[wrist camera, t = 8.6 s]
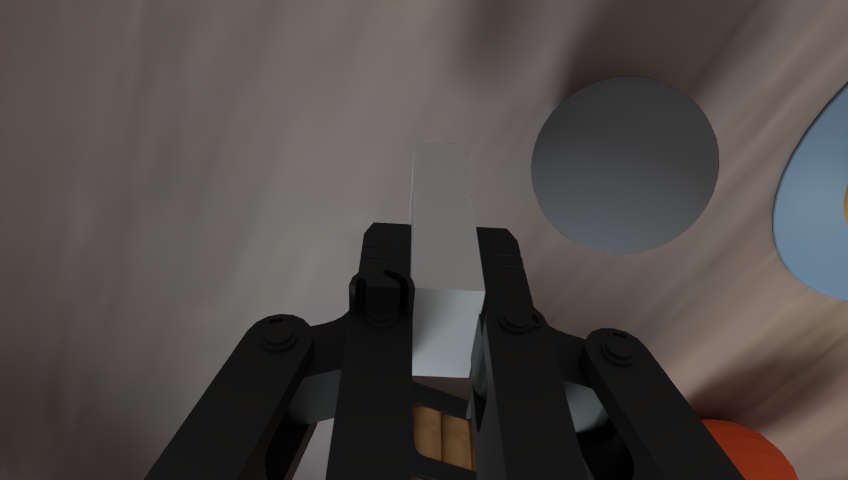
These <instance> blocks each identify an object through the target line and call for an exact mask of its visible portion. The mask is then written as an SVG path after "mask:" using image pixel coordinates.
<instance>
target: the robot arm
mask: <svg viewBox="0 0 848 480" xmlns="http://www.w3.org/2000/svg"><path fill="white" fill-rule="evenodd" d="M470 368H471V369H472V380H473V383H472V388H471V393H470V398H469V403H468V407H467V413H466V419H471V417H472V429H473V440H474V452H475V463H476V475H477V480H745V478H744V477H743V476H742V474H741V473H740V472H739V470H738V469H737V468H736V466H735V465H734V464H733V462H732V461H731V460H730V458H729V457H728V456H727V454H726V453H725V452H724V450H723V449H722V448H721V446H720V445H719V444H718V442H717V441H716V440H715V438H714V437H713V436H712V434H711V433H710V432H709V430H708V429H707V428H706V426H705V425H704V424H703V422H702V421H701V420H700V418H699V417H698V416H697V414H696V413H695V412H694V410H693V409H692V408H691V406H690V405H689V404H688V402H687V401H686V400H685V398H684V397H683V396H682V394H681V393H680V392H679V390H678V389H677V388H676V386H675V385H674V384H673V382H672V381H671V380H670V378H669V377H668V376H667V374H666V373H665V372H664V370H663V369H662V368H661V366H660V365H659V364H658V362H657V361H656V360H655V358H654V357H653V356H652V354H651V353H650V352H649V350H648V349H647V348H646V347H645V346H644V345H643V344H642V343H641V342H640V341H639V340H638V339H637V338H635V337H634V336H632V335H630V334H628V333H627V332H624V331H621V330H617V329H614V328H601V329H598V330H595V331H592V332H591V333H590V335H589V336H588V337H587V338H586V339H582V338H579V337H576V336H572V335H569V334H565V333H563V332H560V331H558V330H555V329H554V328H552V327H550V326H549V325H547V322H546V320H545V318H544V317H543V315H542V314H541V313H540V312H539V311H538V310H536V309H535V308H534V306H533V302H532V298H531V294H530V290H529V286H528V282H527V278H526V274H525V270H524V268H523V262H522V258H521V254H520V249H519V245H518V241H517V240H516V239H515V238H514V236H513V235H512V234H511V233H510V232H509V231H508V230H507V229H503V228H485V227H476V224H475V218H474V211H473V204H472V197H471V190H470V183H469V177H468V170H467V163H466V156H465V149H464V144H454V143H438V142H423V141H414V152H413V166H412V181H411V195H410V210H409V224H392V223H373V224H372V225H371V226H370V227H369V229H368V230H367V231H366V232H365V233H364V238H363V245H362V252H361V260H360V266H359V272H358V273H357V274H356V275H355V276H353V278H352V280H351V282H350V284H349V311H348V312H347V313H346V314H344V315H343V316H342V317H340V318H338V319H336V320H334V321H331V322H328V323H325V324H320V325H315V326H310V325H309V324H308V323H307V322H306V321H305V320H304V319H301V318H299V317H297V316H294V315H286V314H278V315H273V316H268V317H266V318H264V319H262V320H260V321H258V322H256V323H255V324H254V325H253V326H252V327H251V328H250V329H249V330H248V331H247V332H246V334H245V335H244V337H243V338H242V339H241V341H240V342H239V344H238V345H237V347H236V348H235V350H234V351H233V352H232V354H231V355H230V357H229V358H228V360H227V361H226V362H225V364H224V365H223V367H222V368H221V370H220V371H219V372H218V374H217V375H216V377H215V378H214V380H213V381H212V382H211V384H210V385H209V387H208V388H207V390H206V391H205V392H204V394H203V395H202V397H201V398H200V400H199V401H198V403H197V404H196V405H195V407H194V408H193V410H192V411H191V413H190V414H189V415H188V417H187V418H186V420H185V421H184V423H183V424H182V425H181V427H180V428H179V430H178V431H177V433H176V434H175V435H174V437H173V438H172V440H171V441H170V443H169V444H168V446H167V447H166V448H165V450H164V451H163V453H162V454H161V456H160V457H159V458H158V460H157V461H156V463H155V464H154V466H153V467H152V468H151V470H150V471H149V473H148V474H147V476H146V477H145V478H144V480H292V478H293V476H294V474H295V472H296V470H297V467H298V465H299V463H300V461H301V459H302V457H303V454H304V452H305V450H306V448H307V446H308V443H309V441H310V439H311V437H312V435H313V433H314V430H315V428H316V426H317V422H319V421H323V420H327V419H331V418H334V417H335V418H334V425H333V431H332V438H331V445H330V452H329V459H328V466H327V473H326V479H325V480H411V436H412V376H435V377H458V378H469V373H470Z"/></svg>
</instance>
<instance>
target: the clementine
mask: <svg viewBox="0 0 848 480" xmlns="http://www.w3.org/2000/svg"><path fill="white" fill-rule="evenodd" d="M701 421H702V422H703V424H704V425H705V426H706V428H707V429H708V430H709V432H710V433H711V434H712V436H713V437H714V438H715V440H716V441H717V442H718V444H719V445H720V446H721V448H722V449H723V450H724V452H725V453H726V454H727V456H728V457H729V458H730V460H731V461H732V462H733V464H734V465H735V466H736V468H737V469H738V470H739V472H740V473H741V474H742V476H743V477H744V478H745V480H798V478H797V475H796V473H795V470H794V468H793V467H792V465H791V464H790V463H789V461H788V460H787V459H786V457H785V456H784V455H783V453H782V452H781V451H780V450H779V449H778V448H777V447H775V446H774V445H773V444H772V443H771V442H769V441H768V440H767V439H766V438H765V437H763V436H762V435H761V434H760V433H758V432H755V431H753V430H751V429H749V428H747V427H744V426H742V425H740V424H737V423H735V422H729V421H723V420H715V419H705V420H701Z"/></svg>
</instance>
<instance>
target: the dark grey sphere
mask: <svg viewBox="0 0 848 480" xmlns="http://www.w3.org/2000/svg"><path fill="white" fill-rule="evenodd" d="M718 171H719V149H718V144H717V140H716V136H715V134H714V131H713V129H712V126H711V124H710V122H709V121H708V119H707V117H706V115H705V114H704V113H703V111H702V110H701V109H700V107H699V106H698V105H697V104H696V103H695V102H694V101H693V100H692V99H691V98H690V97H688V96H687V95H685V94H684V93H683V92H681V91H680V90H678V89H676V88H674V87H672V86H670V85H668V84H666V83H663V82H660V81H658V80H654V79H649V78H644V77H634V76H629V77H616V78H609V79H605V80H602V81H598V82H596V83H593V84H591V85H589V86H586V87H584V88H582V89H580V90H579V91H577V92H575V93H573V94H572V95H571V96H570V97H568V98H567V99H566V100H564V101H563V102H562V103H561V104H560V105H559V106H558V107H557V108H556V109H555V110H554V111H553V112H552V114H551V115H550V116H549V118H548V119H547V121H546V122H545V124H544V125H543V127H542V129H541V131H540V133H539V135H538V138H537V140H536V143H535V147H534V151H533V155H532V165H531V174H532V184H533V188H534V192H535V195H536V198H537V201H538V203H539V205H540V207H541V209H542V211H543V213H544V214H545V216H546V217H547V219H548V220H549V221H550V222H551V223H552V225H553V226H554V227H555V228H556V229H557V230H559V231H560V232H561V233H562V234H563V235H564V236H566V237H567V238H568V239H570V240H572V241H573V242H575V243H577V244H579V245H581V246H583V247H586V248H589V249H591V250H595V251H599V252H604V253H612V254H630V253H638V252H643V251H647V250H650V249H653V248H656V247H659V246H661V245H663V244H665V243H668V242H670V241H671V240H673V239H674V238H676V237H678V236H679V235H680V234H682V233H683V232H684V231H685V230H686V229H688V228H689V227H690V226H691V225H692V224H693V223H694V222H695V221H696V220H697V219H698V217H699V216H700V215H701V213H702V212H703V210H704V209H705V207H706V206H707V204H708V203H709V201H710V198H711V196H712V194H713V191H714V188H715V185H716V182H717V178H718Z"/></svg>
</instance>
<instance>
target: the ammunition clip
mask: <svg viewBox="0 0 848 480" xmlns="http://www.w3.org/2000/svg"><path fill="white" fill-rule="evenodd" d="M468 403H469V401H467V400H464V399H461V398H458V397H455V396H452V395H450V394H447V393H444V392H441V391H438V390H435V389H432V388H429V387H427V386H424V385H421V384H418V383H415V382H412V436H411V480H477V475H476V463H475V452H474V440H473V429H472V417H471V419H466V413H467V407H468Z"/></svg>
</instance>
